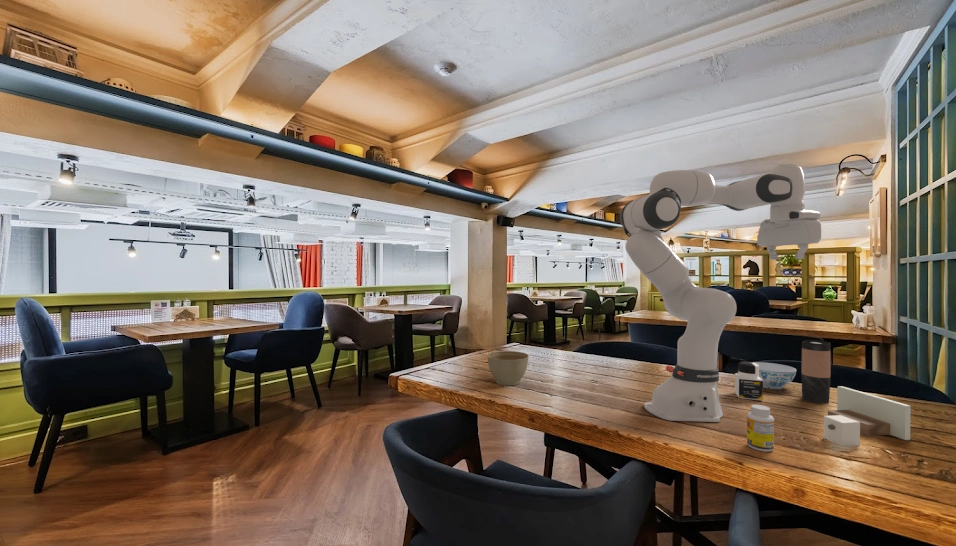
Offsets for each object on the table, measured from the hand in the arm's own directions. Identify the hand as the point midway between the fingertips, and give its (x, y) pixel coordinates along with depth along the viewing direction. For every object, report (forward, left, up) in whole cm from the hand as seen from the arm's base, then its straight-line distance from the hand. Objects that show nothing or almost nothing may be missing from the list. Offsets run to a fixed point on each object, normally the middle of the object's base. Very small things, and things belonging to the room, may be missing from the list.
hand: (786, 259), depth 131 cm
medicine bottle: (-3, +12, -48) cm, 50 cm away
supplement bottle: (-32, -26, -48) cm, 63 cm away
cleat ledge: (+7, -17, -48) cm, 51 cm away
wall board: (+11, -17, -48) cm, 52 cm away
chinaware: (+15, +22, -48) cm, 55 cm away
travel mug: (+17, +6, -48) cm, 52 cm away
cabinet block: (-8, -25, -48) cm, 55 cm away
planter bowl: (-84, +38, -48) cm, 104 cm away
